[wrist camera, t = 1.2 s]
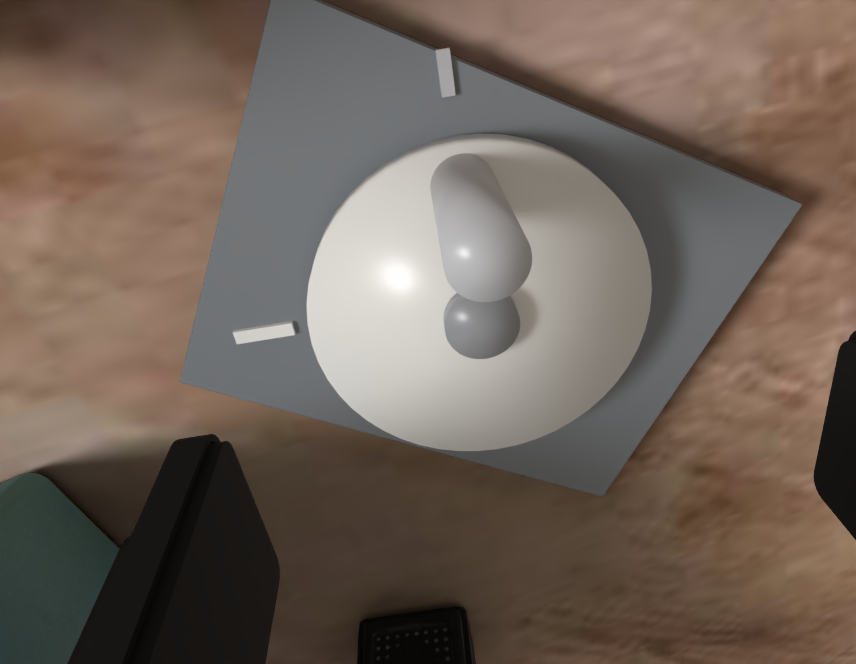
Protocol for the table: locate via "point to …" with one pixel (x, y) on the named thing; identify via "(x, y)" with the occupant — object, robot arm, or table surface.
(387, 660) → the portable radio
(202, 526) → the robot arm
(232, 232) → the stand
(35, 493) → the flower pot
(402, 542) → the table surface
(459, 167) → the white round dome
